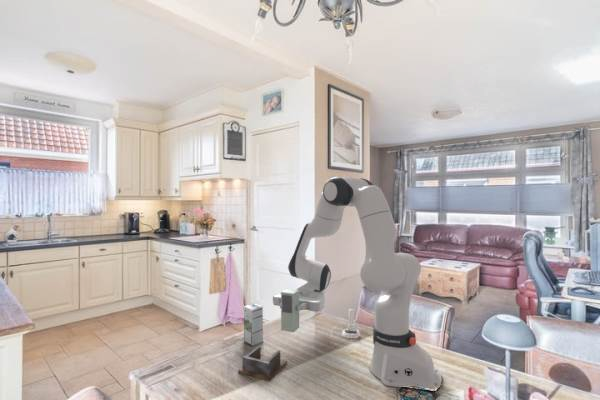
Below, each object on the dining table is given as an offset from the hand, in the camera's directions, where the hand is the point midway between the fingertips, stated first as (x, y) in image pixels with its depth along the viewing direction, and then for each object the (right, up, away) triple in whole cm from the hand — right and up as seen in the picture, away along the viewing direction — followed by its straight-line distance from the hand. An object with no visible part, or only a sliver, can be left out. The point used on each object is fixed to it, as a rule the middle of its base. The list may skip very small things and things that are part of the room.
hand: (289, 307), depth 117 cm
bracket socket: (-9, -18, -9) cm, 21 cm away
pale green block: (0, -8, +1) cm, 8 cm away
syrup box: (-15, -18, +11) cm, 26 cm away
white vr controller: (+26, -18, +18) cm, 36 cm away
